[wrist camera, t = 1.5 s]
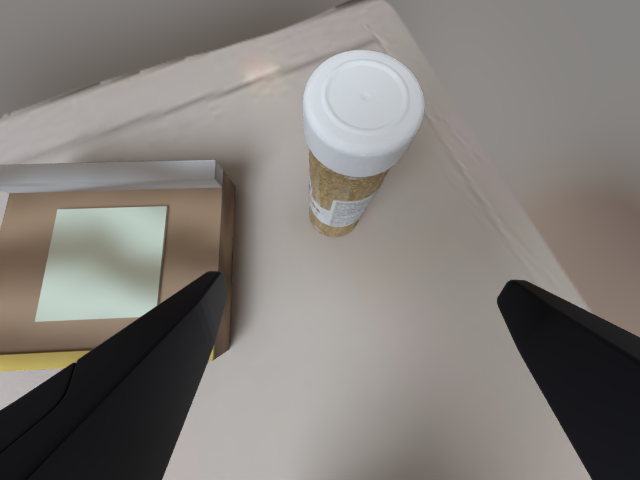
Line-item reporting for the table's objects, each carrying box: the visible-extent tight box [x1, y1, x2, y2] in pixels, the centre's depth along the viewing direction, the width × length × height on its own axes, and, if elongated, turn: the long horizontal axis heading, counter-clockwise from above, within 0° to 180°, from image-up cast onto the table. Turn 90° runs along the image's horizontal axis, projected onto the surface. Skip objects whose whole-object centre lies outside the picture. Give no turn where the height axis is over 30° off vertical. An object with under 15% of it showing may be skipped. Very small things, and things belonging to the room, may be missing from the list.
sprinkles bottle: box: [303, 50, 425, 237], centre depth 15 cm, size 5×5×14 cm
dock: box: [0, 160, 235, 372], centre depth 18 cm, size 14×16×4 cm
